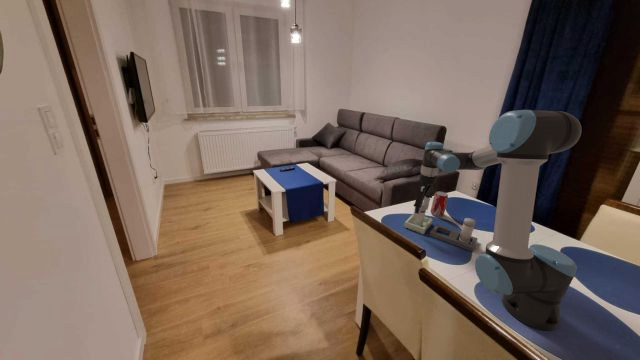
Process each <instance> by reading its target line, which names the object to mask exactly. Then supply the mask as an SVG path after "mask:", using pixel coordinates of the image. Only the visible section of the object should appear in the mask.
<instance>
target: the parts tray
mask: <svg viewBox="0 0 640 360" xmlns="http://www.w3.org/2000/svg"><path fill="white" fill-rule="evenodd" d="M413 216H414V212H413V213H412V214H411V215H410V216H409V217H408V219H406V220H405V222H404V224H403V228H406V229H407V228H408V229H407V230H410V229H411V230H410V231H413V232H415V231H416V233H418V234H421V235H423V234H425V233H426V232H427V231H428V230H429V228H430V227H431V226H432V223H433V219H432V218H431V217H427V216H425V217H424V223H423V226H422V227H420V226H417V225H414V220H415V218H413Z"/></svg>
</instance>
